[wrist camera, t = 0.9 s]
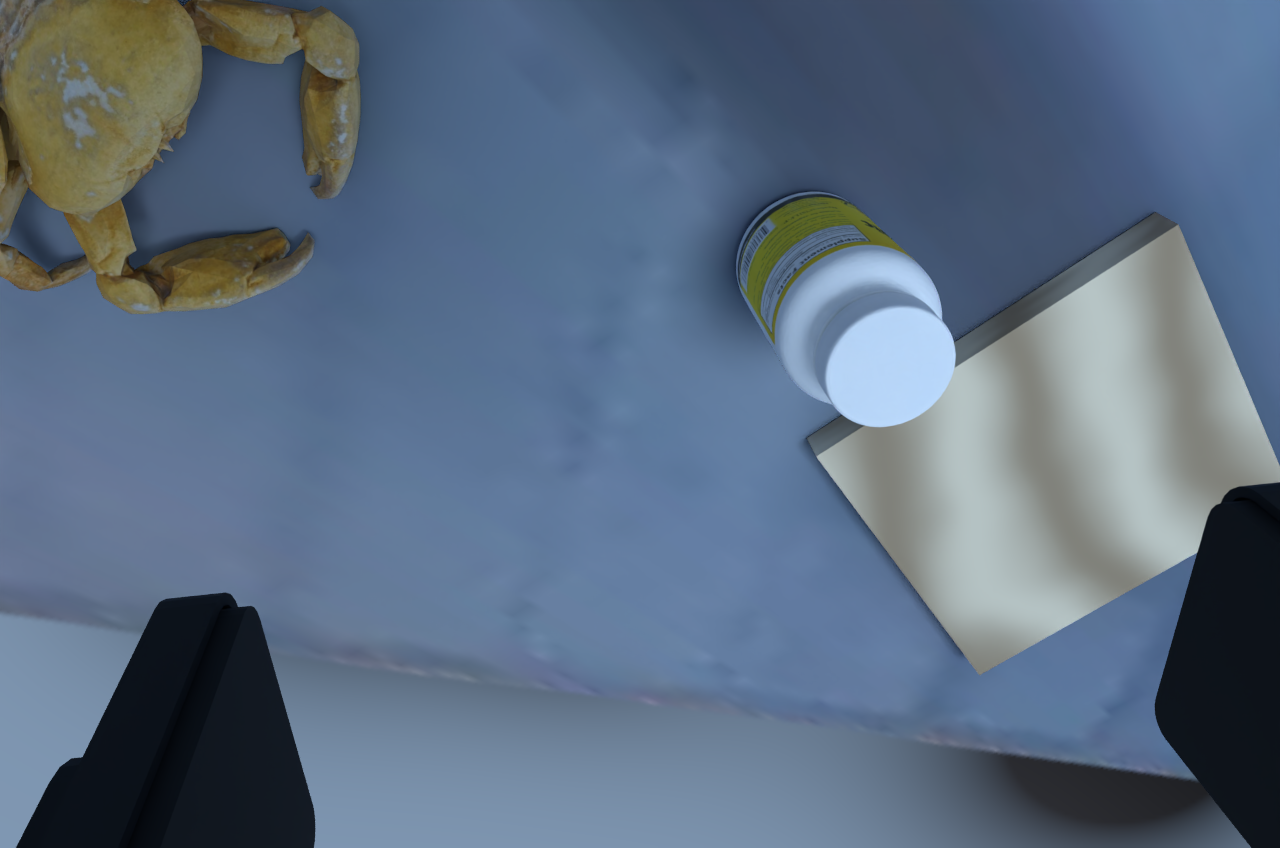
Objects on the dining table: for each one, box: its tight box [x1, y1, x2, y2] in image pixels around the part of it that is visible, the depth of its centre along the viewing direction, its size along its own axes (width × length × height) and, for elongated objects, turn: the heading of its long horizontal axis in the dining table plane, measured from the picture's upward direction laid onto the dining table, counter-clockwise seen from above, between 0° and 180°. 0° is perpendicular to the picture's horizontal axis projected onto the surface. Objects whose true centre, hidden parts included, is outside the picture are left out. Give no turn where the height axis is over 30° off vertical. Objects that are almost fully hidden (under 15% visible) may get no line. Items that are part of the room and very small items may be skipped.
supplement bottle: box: [736, 192, 956, 427], centre depth 33 cm, size 5×5×10 cm
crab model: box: [0, 0, 361, 314], centre depth 30 cm, size 16×13×6 cm
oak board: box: [807, 212, 1280, 675], centre depth 43 cm, size 16×16×2 cm
